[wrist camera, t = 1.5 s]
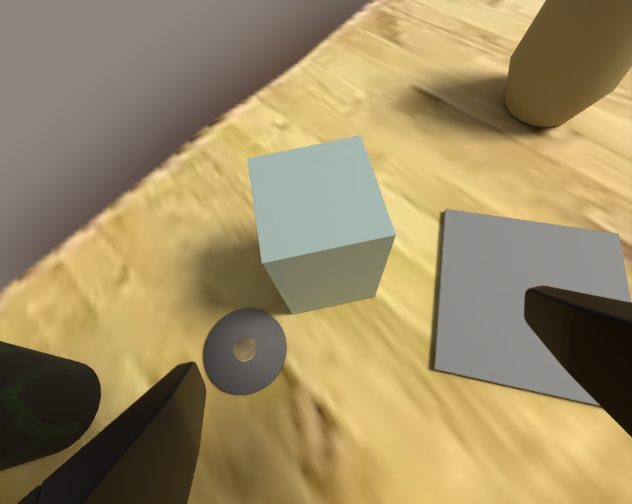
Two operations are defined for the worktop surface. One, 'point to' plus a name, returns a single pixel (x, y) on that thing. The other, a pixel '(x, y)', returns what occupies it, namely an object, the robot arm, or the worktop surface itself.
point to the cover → (321, 223)
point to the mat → (515, 296)
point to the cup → (42, 403)
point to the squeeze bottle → (569, 59)
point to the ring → (245, 351)
